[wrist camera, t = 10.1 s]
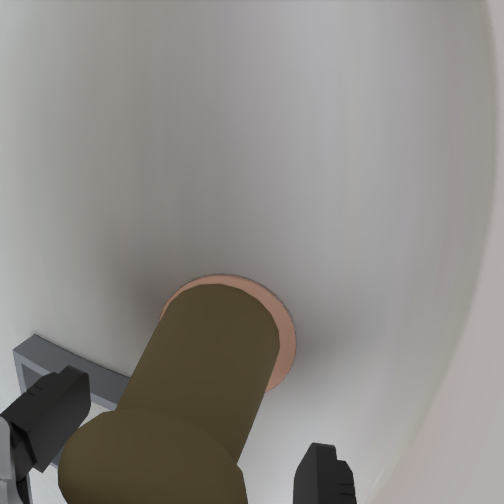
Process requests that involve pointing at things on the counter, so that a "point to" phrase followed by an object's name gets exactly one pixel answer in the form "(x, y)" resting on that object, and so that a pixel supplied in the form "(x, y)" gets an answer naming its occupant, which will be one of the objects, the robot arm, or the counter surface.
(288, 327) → the salmon pink disc
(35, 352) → the bin frame
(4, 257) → the counter surface
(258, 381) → the cork
